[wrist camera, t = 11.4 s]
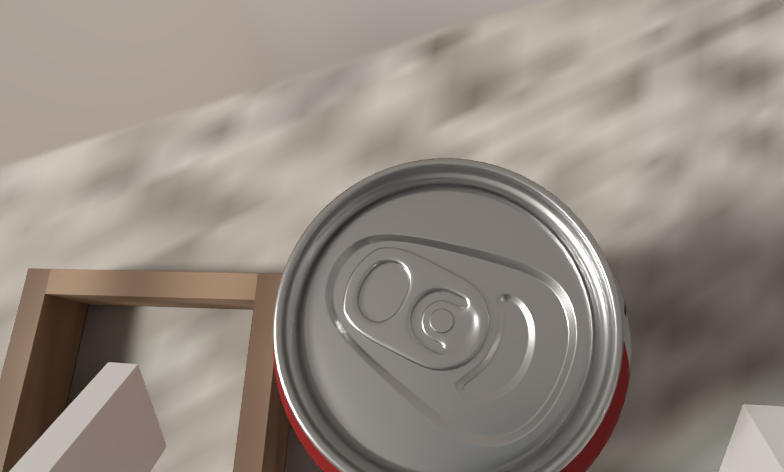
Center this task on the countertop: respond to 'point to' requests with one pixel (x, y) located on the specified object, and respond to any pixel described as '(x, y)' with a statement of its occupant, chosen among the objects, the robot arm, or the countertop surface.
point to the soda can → (450, 327)
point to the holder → (133, 288)
